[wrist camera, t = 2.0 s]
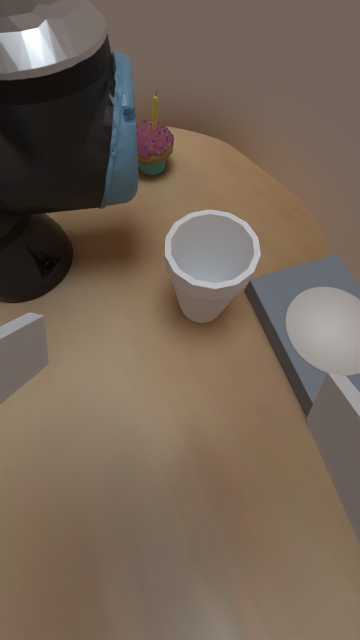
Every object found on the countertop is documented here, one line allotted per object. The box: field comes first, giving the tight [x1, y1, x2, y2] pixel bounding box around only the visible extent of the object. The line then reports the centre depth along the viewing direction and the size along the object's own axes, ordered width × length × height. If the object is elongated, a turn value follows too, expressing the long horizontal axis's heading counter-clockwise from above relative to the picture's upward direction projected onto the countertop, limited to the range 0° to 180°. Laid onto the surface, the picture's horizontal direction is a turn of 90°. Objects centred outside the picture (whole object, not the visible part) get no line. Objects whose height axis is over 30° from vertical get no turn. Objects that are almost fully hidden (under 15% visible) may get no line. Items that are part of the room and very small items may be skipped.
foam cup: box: [165, 210, 261, 323], centre depth 30 cm, size 10×9×13 cm
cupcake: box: [136, 91, 174, 176], centre depth 41 cm, size 9×8×12 cm
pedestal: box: [245, 254, 360, 417], centre depth 32 cm, size 20×14×3 cm
